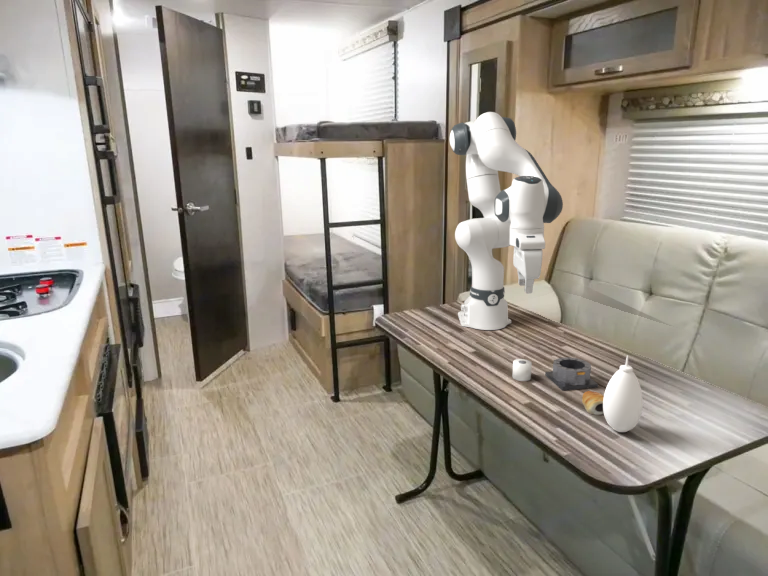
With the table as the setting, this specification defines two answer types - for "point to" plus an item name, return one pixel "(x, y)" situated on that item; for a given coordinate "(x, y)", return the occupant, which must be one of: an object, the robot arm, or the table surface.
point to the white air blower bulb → (623, 400)
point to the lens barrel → (571, 374)
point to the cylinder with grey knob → (522, 369)
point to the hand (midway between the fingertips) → (525, 288)
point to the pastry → (593, 402)
